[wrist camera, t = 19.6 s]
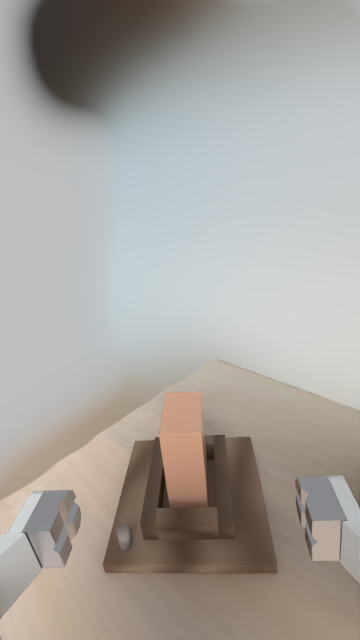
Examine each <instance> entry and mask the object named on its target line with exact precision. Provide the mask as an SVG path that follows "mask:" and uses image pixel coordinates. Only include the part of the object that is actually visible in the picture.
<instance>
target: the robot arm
mask: <svg viewBox="0 0 360 640" xmlns="http://www.w3.org/2000/svg"><path fill="white" fill-rule="evenodd" d="M296 488H297V491H298V493H297V495H296V504H297V511H298V515H299V519H300V523H301V526H302V527H303V528H304V529H305V538H306V543H307V546H308V549H309V552H310V556H311V559H312V561H340V563H341V564H342V565H343V566H344V568H345V569H346V570H347V571H348V572H349V573H350V574H351V575H352V577H353V578H354V579H355V580H356V581H357V582H358V583H359V584H360V508H359V506H358V504H357V502H356V500H355V498H354V496H353V494H352V492H351V490H350V488H349V486H348V484H347V482H346V480H345V478H344V477H343V476H342V475H334V476H314V477H299V478H296ZM75 497H76V496H75V494H74V492H73V490H58V491H33V492H32V493H31V494H30V495H29V496H28V498H27V500H26V502H25V503H24V505H23V507H22V508H21V510H20V512H19V514H18V515H17V517H16V519H15V520H14V522H13V524H12V526H11V527H10V529H9V531H8V533H7V534H2V535H1V536H0V619H1V618H2V616H3V615H4V614H5V613H6V612H7V610H8V609H9V608H10V607H11V606H12V605H13V603H14V602H15V601H16V600H17V599H18V597H19V596H20V595H21V594H22V593H23V592H24V590H25V589H26V588H27V587H28V586H29V585H30V583H31V582H32V581H33V580H34V579H35V577H36V576H37V575H38V574H39V573H40V572H41V570H42V569H41V568H56V567H65V565H66V563H67V560H68V557H69V555H70V552H71V549H72V544H71V540H72V539H73V538H74V537H75V536H76V535H77V533H78V530H79V527H80V522H81V510H80V507H79V505H78V504H76V503H75V502H74V500H75ZM0 640H1V637H0Z"/></svg>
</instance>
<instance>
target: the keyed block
mask: <svg viewBox="0 0 360 640" xmlns="http://www.w3.org/2000/svg"><path fill="white" fill-rule="evenodd" d="M159 439H160V446H161V453H162V459H163V466H164V472H165V479H166V486H167V492H168V499H169V506H170V508H191V507H209V506H208V471H207V456H206V444H205V432H204V420H203V408H202V396H201V391H198V392H177V393H166V394H165V399H164V405H163V411H162V417H161V423H160V429H159Z"/></svg>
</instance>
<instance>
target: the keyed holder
mask: <svg viewBox="0 0 360 640" xmlns="http://www.w3.org/2000/svg"><path fill="white" fill-rule="evenodd" d="M205 444H206V456H207V471H208V506H209V507H191V508H170V506H169V499H168V492H167V486H166V479H165V472H164V466H163V459H162V453H161V446H160V439H159V437H157V438H155V440H150V441H135V443H134V447H133V451H132V455H131V459H130V463H129V466H128V470H127V474H126V478H125V482H124V486H123V489H122V493H121V497H120V501H119V505H118V509H117V513H116V516H115V520H114V524H113V528H112V532H111V536H110V539H109V543H108V547H107V551H106V555H105V559H104V563H103V566H104V570H105V573H276V572H277V564H276V559H275V554H274V549H273V544H272V540H271V535H270V530H269V525H268V521H267V516H266V511H265V506H264V501H263V497H262V492H261V487H260V482H259V477H258V473H257V468H256V463H255V458H254V453H253V449H252V444H251V439H250V437H237V438H225V435H213V436H205Z"/></svg>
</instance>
